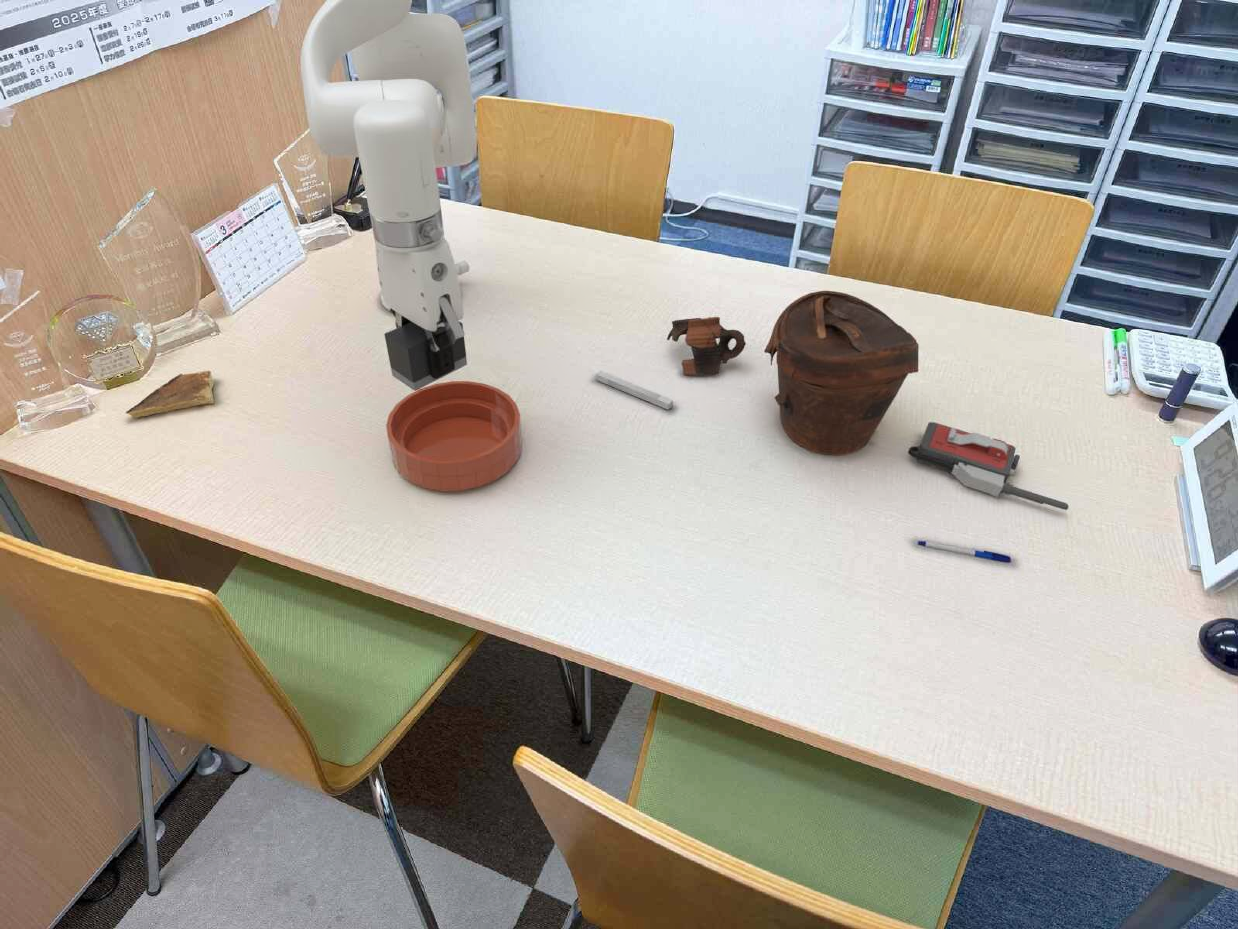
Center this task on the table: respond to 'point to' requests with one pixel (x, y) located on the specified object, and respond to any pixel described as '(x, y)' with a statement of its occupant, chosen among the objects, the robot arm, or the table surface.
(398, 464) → the bowl
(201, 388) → the shard
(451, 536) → the table surface
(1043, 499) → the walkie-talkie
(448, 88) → the robot arm
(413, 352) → the eraser
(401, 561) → the table surface
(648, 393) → the grey bar
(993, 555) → the ballpoint pen
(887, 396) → the case
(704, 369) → the pottery mug
